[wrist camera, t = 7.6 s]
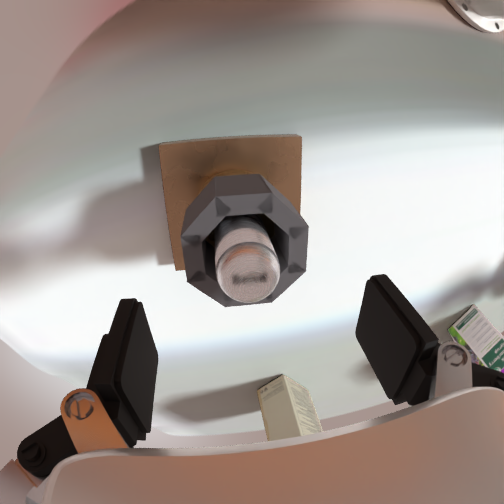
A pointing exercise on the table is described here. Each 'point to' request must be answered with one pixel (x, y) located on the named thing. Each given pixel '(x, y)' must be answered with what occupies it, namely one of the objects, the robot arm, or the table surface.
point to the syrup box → (479, 339)
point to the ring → (241, 203)
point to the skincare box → (287, 410)
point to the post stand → (236, 226)
